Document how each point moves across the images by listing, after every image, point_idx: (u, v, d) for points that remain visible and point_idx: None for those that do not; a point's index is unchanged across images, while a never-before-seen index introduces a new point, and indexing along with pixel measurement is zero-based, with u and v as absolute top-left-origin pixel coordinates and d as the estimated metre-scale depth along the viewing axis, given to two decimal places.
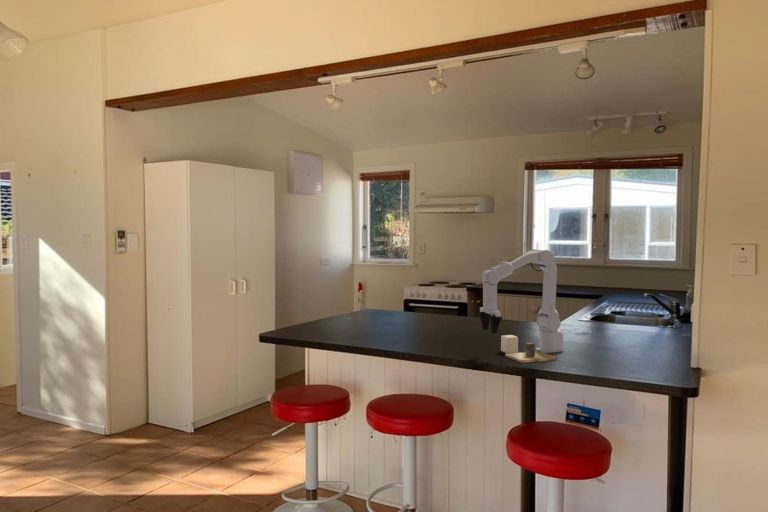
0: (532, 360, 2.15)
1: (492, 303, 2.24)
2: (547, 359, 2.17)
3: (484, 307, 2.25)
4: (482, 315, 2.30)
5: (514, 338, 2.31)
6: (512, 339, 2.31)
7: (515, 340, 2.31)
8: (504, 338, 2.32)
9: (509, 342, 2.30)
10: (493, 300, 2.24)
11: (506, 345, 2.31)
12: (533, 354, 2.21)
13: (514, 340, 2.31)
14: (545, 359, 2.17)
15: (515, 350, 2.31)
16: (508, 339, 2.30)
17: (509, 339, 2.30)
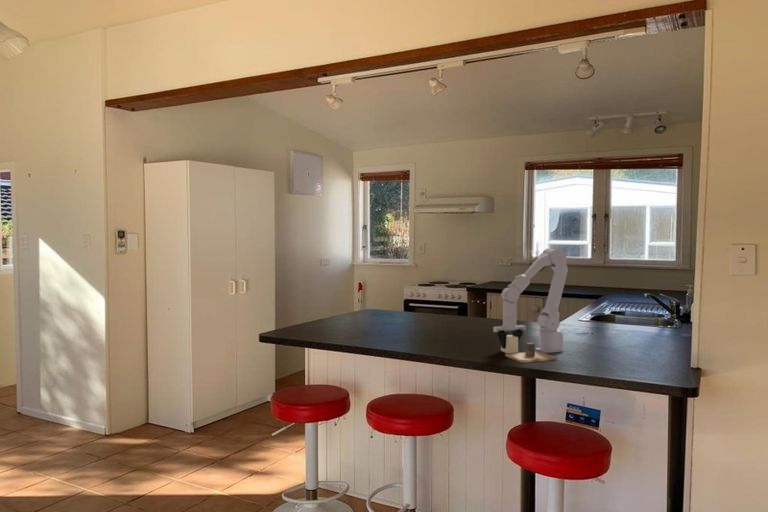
0: (532, 360, 2.15)
1: (503, 319, 2.32)
2: (547, 359, 2.17)
3: None
4: (513, 332, 2.35)
5: (514, 338, 2.31)
6: (512, 339, 2.31)
7: (515, 340, 2.31)
8: None
9: (509, 342, 2.30)
10: (503, 317, 2.32)
11: (506, 345, 2.31)
12: (533, 354, 2.21)
13: (514, 340, 2.31)
14: (545, 359, 2.17)
15: (515, 350, 2.31)
16: (508, 339, 2.30)
17: (509, 339, 2.30)
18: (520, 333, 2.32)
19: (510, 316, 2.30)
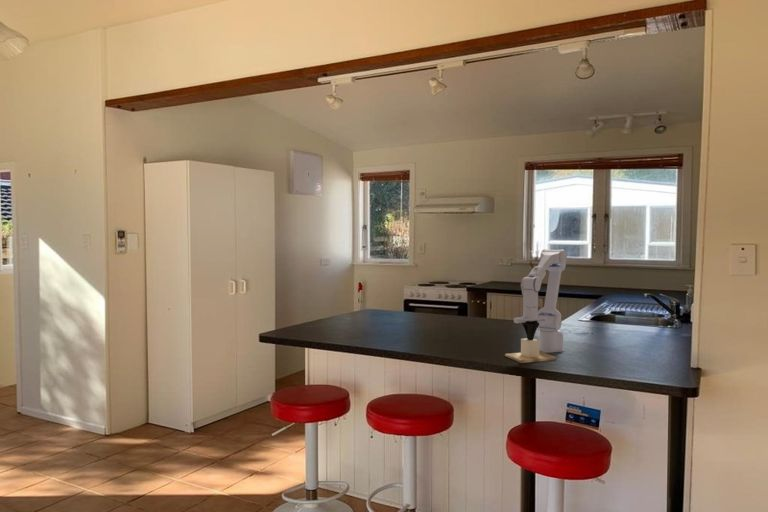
0: (532, 360, 2.15)
1: (524, 310, 2.20)
2: (547, 359, 2.17)
3: None
4: None
5: (535, 341, 2.19)
6: (533, 342, 2.19)
7: (536, 343, 2.20)
8: (525, 341, 2.20)
9: (530, 345, 2.19)
10: (524, 307, 2.20)
11: (527, 349, 2.19)
12: None
13: (535, 343, 2.19)
14: (545, 359, 2.17)
15: (536, 354, 2.20)
16: (529, 342, 2.18)
17: (530, 342, 2.19)
18: (536, 325, 2.19)
19: (536, 306, 2.18)
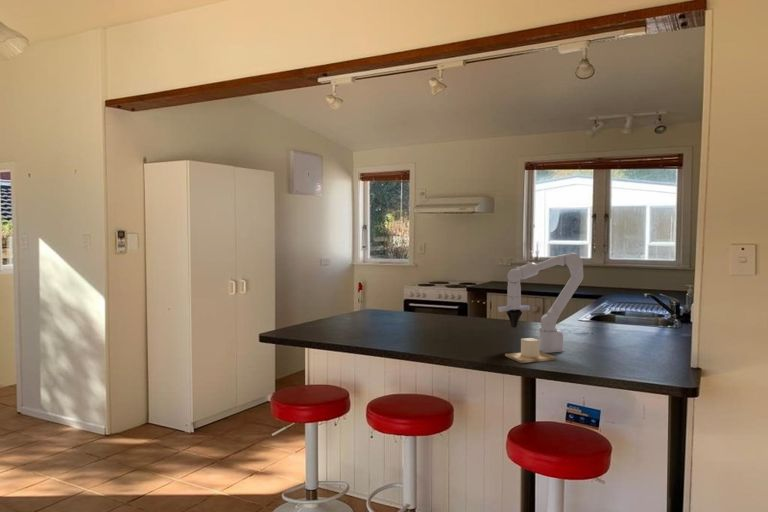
0: (532, 360, 2.15)
1: (508, 299, 2.38)
2: (547, 359, 2.17)
3: None
4: None
5: (535, 341, 2.19)
6: (533, 342, 2.19)
7: (536, 343, 2.20)
8: (525, 341, 2.20)
9: (530, 345, 2.19)
10: (508, 297, 2.38)
11: (527, 349, 2.19)
12: None
13: (535, 343, 2.19)
14: (545, 359, 2.17)
15: (536, 354, 2.20)
16: (529, 342, 2.18)
17: (530, 342, 2.19)
18: (519, 313, 2.37)
19: (512, 296, 2.36)
